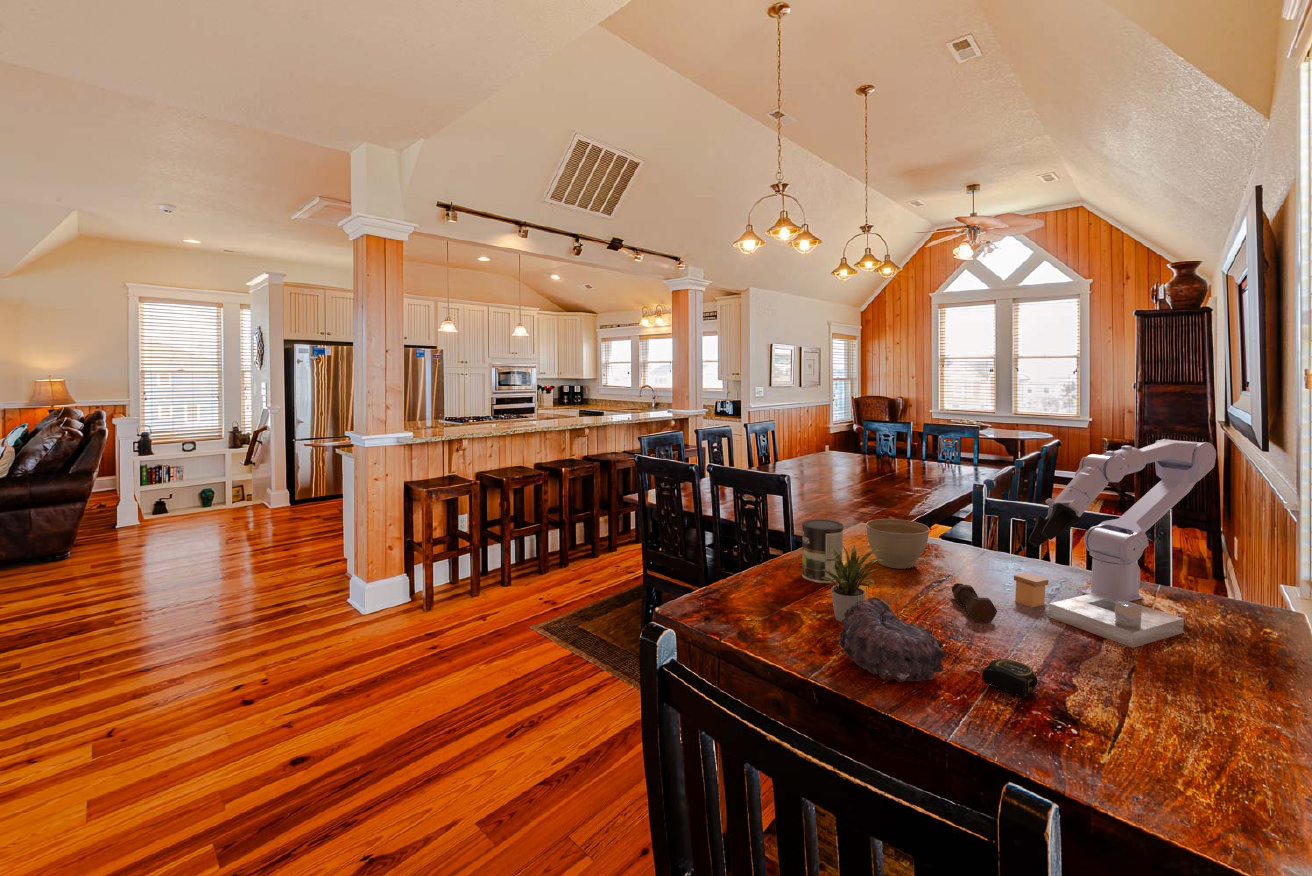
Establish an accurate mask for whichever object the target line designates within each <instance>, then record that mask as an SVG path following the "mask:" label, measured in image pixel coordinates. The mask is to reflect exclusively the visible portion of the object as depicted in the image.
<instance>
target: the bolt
mask: <svg viewBox="0 0 1312 876" xmlns="http://www.w3.org/2000/svg"><path fill="white" fill-rule="evenodd" d="M951 592H952V595H953V597H954V599H955V600H956V602H957V603H958V604H959V605H960V606H964V607H965V610H966V612H967V613H968V616H969V617H970V619H971V620H972V621H973V622H974V623H980V624H982V623H983V624H989V623H991V622H993V620H994V619H995V618H996V616H997V614H998V610H997V608H996V607H995V605H994V604H993V602H992V600H991V599H990V598H989V597H979V596H978V594H977V592H976V590H975V589H974V587H973V586H972V585H971V584H963V583H958V582H957V583H954V584H953V585H952V586H951Z"/></svg>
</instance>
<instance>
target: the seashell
mask: <svg viewBox="0 0 1312 876" xmlns="http://www.w3.org/2000/svg"><path fill="white" fill-rule="evenodd" d="M844 615H845V618H844V619H843V620H842V622H841V624H842V629H841V631H840V632H839V633H838V634H839V636H840V639H839V643H838V645H839V646H840V648H842V649H843V652H844V653H845V654H846V655H847V657H848V658H849V659H851V660H853V662H854V664H857V666H859V667H860V668H862V670H867V672H868V673H870V674H871V675H872V676H873V675H875V676H877V675H878V676H879V678H880V679H881V680H883V681H886V680H887V679H894V680H896V681H897V682H898V683H903V682H905V681H906V682H922V681H926V680H927V681H928V680H930V681H931V680H933V679H934V677H935V673H942V672H943V671H944V665H943V663H942V659H943V658H945V657H946V653H945V650H944V649H943V647H944V645H943V641H939V639H938V637H937V636H935V635H933V630H932V629H929V628H926V629H925V628H924V627H925V626H923V625H921V624H920V625H918V626H917V625H916V624H915V623H909V622H906V621H904V620H902V619H900V618H899V617H898V616H897V615H896V614H895V612H894V611H893V609H892V607H891V606H890V604H889V603H888V602H887V601H885V600H883V599H881V598H879V597H874V596H873V597H871V598H870V597H869V598H866V599H864V600H863V601H857V602H856V603H855V604H854V605H852V606H851V608H848V609H847V611H846V613H844Z"/></svg>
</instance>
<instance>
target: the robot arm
mask: <svg viewBox="0 0 1312 876" xmlns="http://www.w3.org/2000/svg"><path fill="white" fill-rule="evenodd" d="M1216 459H1217V451H1216V448H1215V446H1214V445H1213V443H1210V442H1207V441H1206V442H1205V441H1204V442H1197V441H1186V440H1176V439H1169V438H1163V439H1160V440H1159V439H1157V440H1155V442H1154V443H1152V444H1149V445H1147V446H1144V447H1141V448H1137V447H1134V446H1132V445H1122V446H1121V447H1120V449H1118V450H1108V451H1105V453H1103V454H1094V453H1092V454H1089V455H1087V456H1083V457H1082V458H1081V460H1080V462H1079V465H1078V469H1077V470H1076V471H1075V474H1074V477H1073V478H1072V479H1071V481H1070V482H1068V484H1067V485H1066V486H1065V488H1064V489H1063V490H1062V491H1061V492H1060V493H1059V494H1058V495H1057V497H1055V499H1053V498H1050V497H1049V498H1047V499H1046V500H1045V502H1044V503H1045V504H1046V505H1048V510H1047V516H1046V517H1044V516H1043V515H1042V514H1040V513H1039V514H1038V515H1036V517H1035V524H1034V528H1033V530H1032V532H1031V534H1030V535H1029V538H1028V540H1027V541H1028V543H1030V544H1031V546H1034V547H1035V548H1038V547H1040V546H1042V544H1044V543H1045V542H1046V541H1048V540H1049V541H1052V540H1053V539H1055V538H1056V537H1058V536H1059V535H1060V534H1061V533H1063V532H1064V531H1065V530H1067V529H1068V528H1069V527H1071V526H1074V525H1076V524H1080V522H1082V520H1083V519H1082V518H1081V516H1082V515H1083V514H1084V512H1085V511H1086V510H1087V509H1088V508H1089V507H1090V506H1091V504H1092V503H1093V502H1094V501H1095V500H1096V499H1097V497H1098V496H1099V495H1100V494H1101V493H1102V491H1103V490H1104V489H1105V488H1106V487H1107V486H1108V484H1109V483H1119V482H1120V481H1122V480H1123V478H1124V477H1125V476H1127V475H1130V474H1133V473H1137V472H1141V471H1142V470H1143V469H1144V468H1145V467H1146V465H1147V464H1151V463H1154V465H1155V474H1156V477H1158V478H1160V481H1159V482H1157V483H1156V484H1155V485H1154V486H1153V487H1151V489H1149V490H1148V491H1147V493H1145V494H1144V495H1143V496H1142V497H1141V498H1140V499H1139V500H1137V502H1135V503H1134V504H1133V505H1132V506H1131V507H1130V508H1129V509H1127V510H1126V511H1125V512H1124V513H1123V514H1122V515H1120V517H1119V518H1115V519H1110V520H1104V521H1102V522H1101V523H1099V524H1098V525H1095V526H1091V527H1090V528H1089V529H1088V530H1087V531H1086V532H1085V534H1084V537H1083V543H1084V544H1083V545H1084V547H1085V549H1086V550H1087V551H1088V552H1089V556H1091V557H1092V564H1091V578H1090V579H1091V580H1090V589H1085V590H1084V589H1083V590H1081V594H1083V595H1087V594H1091V593H1096V592H1099V593H1102V594H1106V595H1109V596H1112V597H1115V598H1119V599H1122V600H1125V601H1129V602H1133V601H1137V600H1141V599H1143V598H1144V595H1142V594H1140V584H1141V583H1140V582H1141V569H1140V566H1139V564H1138V563H1137V561H1138V560H1139V559H1140V558H1141V557H1142V556H1143V553H1144V551H1145V549H1146V548H1147V547H1148V546H1149V545H1150V544H1149V538H1148V536H1147V534H1146V532H1147V531H1148V530H1149V529H1150V528H1152V527H1153V526H1155V525H1154V524H1156V523H1158V521H1159V520H1160V519H1161V518H1163V517H1164V516H1165V515H1166V513H1168V512H1169V511H1171V510H1172V508H1173V507H1174V506H1176V505H1177V503H1179V502H1180V501H1181V500H1182V499H1183V498H1185V496H1186V495H1188V494H1189V493H1190V491H1191V490H1192V489H1193V487H1194V486H1195V485H1196V483H1197V482H1200V481H1201V479H1203V478H1204V477H1205V476H1206V475H1207V474H1208V473H1210V471H1211V470H1212V469H1214V468H1215V465H1216Z"/></svg>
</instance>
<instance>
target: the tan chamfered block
mask: <svg viewBox="0 0 1312 876" xmlns="http://www.w3.org/2000/svg"><path fill="white" fill-rule="evenodd" d="M1013 581H1015V596H1014V597H1015V598H1014V599H1015V602H1016V603H1019V604H1021V605H1023V606H1024V605H1025V606H1027V607H1030V608H1036V607H1040V606H1044V605H1045V600H1046V598H1045V597H1046V586H1048V585H1049V579H1048V578H1044V577H1041V576H1038V575H1035V574H1032V573H1028V572H1023V573H1017V574H1014V575H1013Z"/></svg>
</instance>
